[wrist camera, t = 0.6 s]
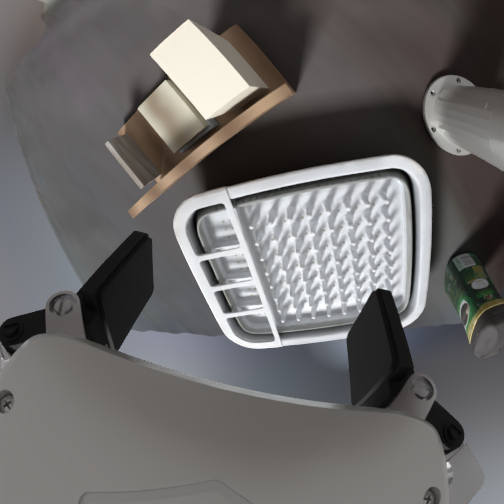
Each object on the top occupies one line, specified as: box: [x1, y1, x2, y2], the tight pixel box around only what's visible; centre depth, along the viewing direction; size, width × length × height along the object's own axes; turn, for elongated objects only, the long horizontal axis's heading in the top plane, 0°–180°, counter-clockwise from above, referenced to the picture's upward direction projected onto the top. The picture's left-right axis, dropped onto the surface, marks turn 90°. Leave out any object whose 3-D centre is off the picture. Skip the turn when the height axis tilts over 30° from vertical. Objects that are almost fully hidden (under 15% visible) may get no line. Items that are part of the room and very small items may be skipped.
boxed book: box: [150, 19, 269, 120], centre depth 26 cm, size 5×9×14 cm, turn 38°
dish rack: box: [173, 154, 432, 348], centre depth 44 cm, size 32×37×8 cm
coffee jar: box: [445, 253, 504, 358], centre depth 35 cm, size 10×8×19 cm
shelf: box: [105, 24, 296, 218], centre depth 32 cm, size 25×13×12 cm, turn 128°
